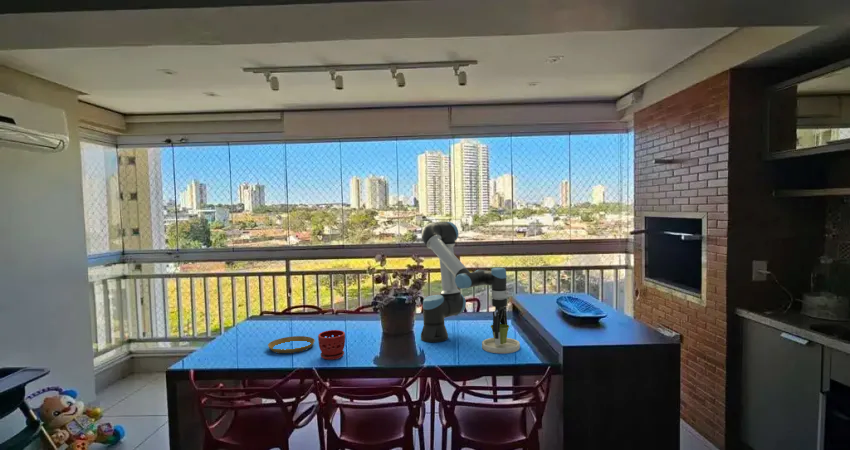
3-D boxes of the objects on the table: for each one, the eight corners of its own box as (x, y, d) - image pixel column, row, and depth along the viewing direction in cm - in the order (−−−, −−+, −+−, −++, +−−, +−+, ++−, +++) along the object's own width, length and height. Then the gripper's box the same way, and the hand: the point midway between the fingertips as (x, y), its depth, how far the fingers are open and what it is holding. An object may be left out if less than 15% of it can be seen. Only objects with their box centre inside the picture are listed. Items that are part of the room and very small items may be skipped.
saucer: (476, 350, 223) (476, 345, 223) (489, 340, 239) (489, 335, 239) (513, 355, 213) (512, 350, 213) (524, 344, 230) (524, 339, 230)
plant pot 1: (314, 357, 220) (313, 333, 220) (336, 351, 229) (335, 328, 229) (328, 363, 211) (327, 338, 210) (351, 356, 220) (350, 332, 220)
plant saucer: (324, 344, 242) (324, 338, 242) (290, 358, 221) (290, 351, 221) (293, 339, 254) (292, 334, 254) (258, 351, 234) (258, 345, 233)
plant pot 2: (509, 345, 221) (509, 328, 221) (490, 345, 223) (490, 328, 222) (509, 340, 230) (509, 323, 230) (491, 339, 232) (491, 323, 232)
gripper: (499, 302, 215) (500, 349, 215) (513, 294, 233) (514, 337, 234) (484, 301, 218) (486, 347, 219) (499, 294, 237) (500, 336, 237)
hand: (500, 342), depth 226 cm, fingers closed on plant pot 2, 8 cm apart
